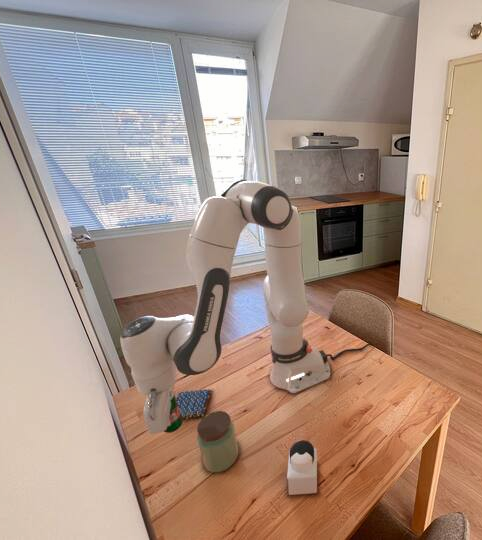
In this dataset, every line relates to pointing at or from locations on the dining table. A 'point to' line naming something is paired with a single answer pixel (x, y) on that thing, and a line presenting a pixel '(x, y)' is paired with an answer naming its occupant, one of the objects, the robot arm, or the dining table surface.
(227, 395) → the dining table surface
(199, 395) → the woven mat
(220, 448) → the jar
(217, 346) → the robot arm
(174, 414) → the soda can
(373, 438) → the dining table surface
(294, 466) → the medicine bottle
